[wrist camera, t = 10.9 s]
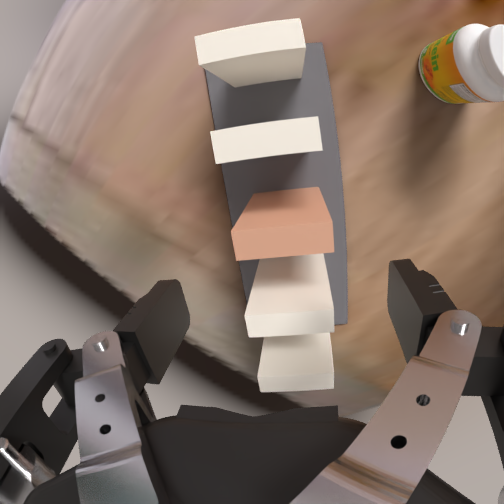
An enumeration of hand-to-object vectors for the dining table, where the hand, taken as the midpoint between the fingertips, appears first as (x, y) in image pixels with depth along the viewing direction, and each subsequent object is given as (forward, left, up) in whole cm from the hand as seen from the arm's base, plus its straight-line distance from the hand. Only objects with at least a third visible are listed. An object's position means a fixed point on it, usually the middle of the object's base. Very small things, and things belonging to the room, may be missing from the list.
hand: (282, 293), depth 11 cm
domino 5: (-3, +9, -13) cm, 16 cm away
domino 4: (-1, +4, -13) cm, 14 cm away
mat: (0, 0, -14) cm, 14 cm away
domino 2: (+2, -5, -13) cm, 14 cm away
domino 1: (+4, -9, -13) cm, 17 cm away
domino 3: (0, 0, -13) cm, 13 cm away
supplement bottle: (-10, -15, -14) cm, 22 cm away
